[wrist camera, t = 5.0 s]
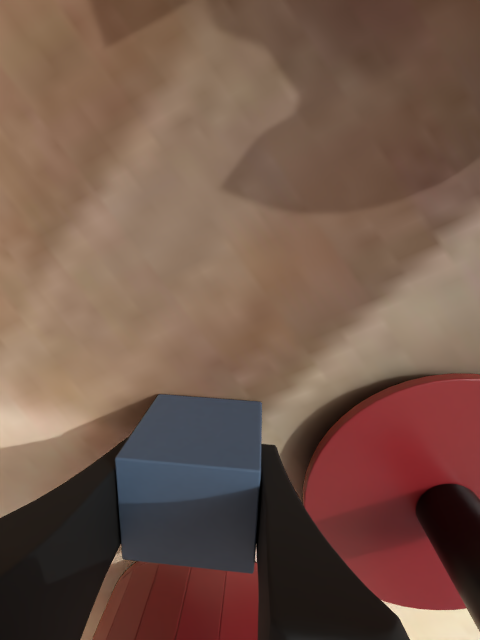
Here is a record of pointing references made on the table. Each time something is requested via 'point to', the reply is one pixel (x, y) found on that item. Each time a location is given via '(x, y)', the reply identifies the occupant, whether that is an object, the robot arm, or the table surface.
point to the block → (192, 484)
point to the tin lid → (406, 492)
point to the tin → (181, 604)
